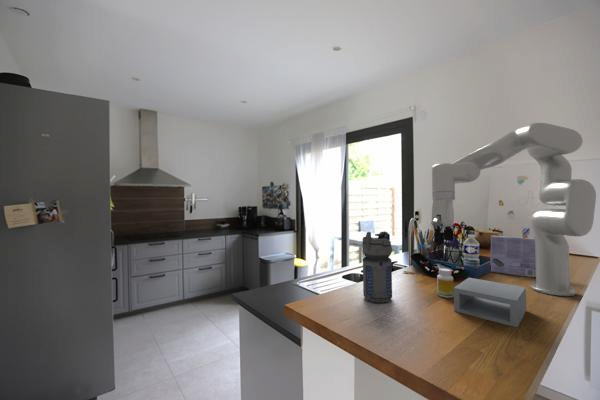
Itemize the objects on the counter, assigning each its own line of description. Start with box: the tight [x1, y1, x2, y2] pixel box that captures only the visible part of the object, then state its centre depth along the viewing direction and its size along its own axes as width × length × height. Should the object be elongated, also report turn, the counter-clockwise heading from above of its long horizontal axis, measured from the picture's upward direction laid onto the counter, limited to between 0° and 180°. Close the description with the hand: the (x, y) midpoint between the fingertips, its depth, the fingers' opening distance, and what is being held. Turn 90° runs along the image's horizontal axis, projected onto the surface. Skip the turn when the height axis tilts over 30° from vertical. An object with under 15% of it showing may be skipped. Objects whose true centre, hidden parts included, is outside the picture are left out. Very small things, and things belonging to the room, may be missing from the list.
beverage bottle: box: [361, 231, 393, 304], centre depth 99 cm, size 10×13×25 cm
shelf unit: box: [453, 277, 527, 328], centre depth 86 cm, size 16×16×8 cm
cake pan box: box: [490, 235, 536, 278], centre depth 126 cm, size 19×5×18 cm, turn 49°
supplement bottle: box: [436, 267, 455, 299], centre depth 100 cm, size 5×5×10 cm
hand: (444, 241), depth 100 cm, fingers open, 9 cm apart
